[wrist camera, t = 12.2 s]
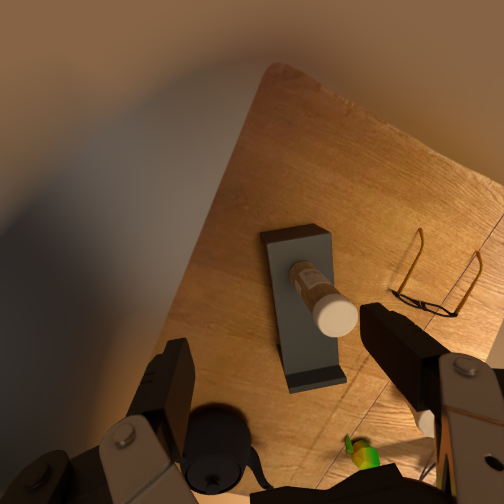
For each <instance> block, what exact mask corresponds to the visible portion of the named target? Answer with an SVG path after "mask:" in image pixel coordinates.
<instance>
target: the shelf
mask: <svg viewBox="0 0 504 504" xmlns="http://www.w3.org/2000/svg"><path fill="white" fill-rule="evenodd" d="M260 234H261V241H262V243H263V245H264V247H265V248H266V250H267V255H268V262H269V269H270V276H271V283H272V290H273V297H274V304H275V311H276V318H277V325H278V332H279V339H280V344H279V345H277V349H278V354H279V357H280V361H281V364H282V368H283V371H284V375H285V378H286V382H287V386H288V389H289V393H290V394H292V393H297V392H302V391H307V390H312V389H317V388H322V387H327V386H332V385H338V384H343V383H347V378H346V376H345V374H344V372H343V371H342V369H341V367H340V366H339V357H338V340H337V337H329V336H327V335H325V334H323V333H322V332H321V331H320V329H319V328H318V326H317V325H316V323H315V322H314V319H313V315H312V313H311V312H310V310H309V309H308V307H307V306H306V304H305V303H304V301H303V300H302V298H301V297H300V295H299V294H298V292H297V290H296V288H295V287H294V285H293V284H292V283H291V281H290V279H289V273H290V270H291V268H292V267H293V266H294V265H295V264H297V263H299V262H303V261H305V262H310V263H312V264H313V265H314V266H315V267H316V269H317V270H318V271H319V272H320V273H322V274H323V275H324V276H325V277H326V278H327V279H328V280H329V281H330V282H331V284H332V285H333V286H334V274H333V257H332V240H331V233H330V232H329V231H327V230H325V229H323V228H321V227H319V226H317V225H315V224H309V225H303V226H297V227H291V228H285V229H280V230H274V231H268V232H262V233H260Z"/></svg>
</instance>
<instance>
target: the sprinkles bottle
mask: <svg viewBox="0 0 504 504" xmlns="http://www.w3.org/2000/svg"><path fill="white" fill-rule="evenodd" d="M289 279H290V281H291V283H292V284H293V285H294V287H295V288H296V290H297V292H298V294H299V295H300V297H301V298H302V300H303V301H304V303H305V304H306V306H307V307H308V309H309V310H310V312H311V313H312V315H313V319H314V322H315V323H316V325H317V326H318V328H319V329H320V331H321V332H322V333H323V334H325V335H327V336H329V337H341V336H344V335H346V334H348V333H349V332H350V331H351V330H352V329H353V328H354V327H355V325H356V323H357V320H358V312H357V309H356V307H355V306H354V305H353V304H352V303H351V302H350V300H349V299H347V298H346V297H345V296H343V295H342V294H340V293H339V291H338V290H337V289H336V288H335V287H334V286H333V285H332V284H331V282H330V281H329V280H328V279H327V278H326V277H325V276H324V275H323V274H322V273H320V272H319V271H318V270H317V269H316V267H315V266H314V265H313V264H312V263H310V262H305V261H303V262H299V263H297V264H295V265H294V266H293V267H292V268H291V270H290V273H289Z"/></svg>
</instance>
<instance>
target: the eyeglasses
mask: <svg viewBox="0 0 504 504" xmlns="http://www.w3.org/2000/svg"><path fill="white" fill-rule="evenodd" d="M419 233H420V237H421V241H422V243H421V248H420V251H419V253H418V255H417V257H416V259H415V261H414V263H413V264H412V266H411V268H410V270H409V272H408V274H407V275H406V277H405V279H404V281H403V283H402V284H401V286H400V288H399V290H398V291H397V292H396V291H394V290H393V291H392V293H393V294H394V295H395V296H396V297H397V298H398V299H400V300H401V301H402V302H404V303H405V304H407V305H409V306H412V307H414V308H418V309H422V310H424V311H428V312H431V313H433V314H436V315H439V316H443V317H457V315H458V314H459V312H460V310H461V309H462V307H463V305H464V303H465V302H466V300H467V298H468V296H469V294H470V293H471V291H472V289H473V287H474V285H475V284H476V282H477V280H478V278H479V276H480V275H481V272H482V268H483V264H482V259H481V255H480V252H479V251H476V256H477V258H478V260H479V263H480V270H479V273H478V275H477V276H476V278H475V280H474V281H473V283H472V284H471V286H470V288H469V289H468V291H467V293H466V294H465V296H464V298H463V299H462V301H461V302H460V303H459V305H458V307H457V308H456V310H455V311H454V313H450V312H449V311H447V310H446V309H444V308H443V307H441V306H438V305H434V304H430V303H426V302H421V303H419V302H418V301H417V300H414V299H411V298H409V297H407V296H405V295H402V294H401V292H402V290H403V288H404V287H405V285H406V283H407V281H408V279H409V277H410V275H411V273H412V271H413V269H414V267H415V264H416V262H417V260H418V258H419V256H420V254H421V252H422V250H423V246H424V237H423V230H422V228H420V229H419ZM400 296H402V297H405V298H407V299H409V300H410V301H412V302H413V303H414V304H416V305H417V306H415V305H412V304H410V303H408V302H406V301H404V300H403V299H401V298H400ZM420 304H421V305H420ZM425 304H427V305H431V306H435V307H439V308H441V309H443V310H444V311H445V312H447V313H448V314H449V315H443V314H439V313H436V312H434V311H431V310H429V309H427V308H426V307H425Z"/></svg>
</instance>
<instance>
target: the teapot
mask: <svg viewBox="0 0 504 504" xmlns="http://www.w3.org/2000/svg"><path fill="white" fill-rule="evenodd" d="M174 462H176V463H180V468H181V472H182V475H183V477H184V479H185V481H186V482H187V484H188V486H189V488H190V489H191V490H193V491H194V492H197V493H199V494H204V495H217V494H222V493H225V492H227V491H229V490H231V489H233V488H234V487H235V486H236V485H237V484H238V483H239V482H240V480H241V478H242V476H243V473H244V471H245V468H246V465H247V466H249V467H250V468H251V470H252V471H253V473H254V475H255V477H256V479H257V481H258V483H259V485H260V486H261V487H262V488H263V489H266V490H270V489H274V488H273V486H271V485H270V484H269V483H268V482H267V480H266V479H265V477H264V474H263V471H262V467H261V463H260V459H259V456H258V454H257V452H256V450H255V449H254V448H253V447H252V446H251V435H250V431H249V428H248V426H247V425H246V423H245V422H244V421H243V420H242V419H241V418H240V417H239V416H237V415H235V414H234V413H231V412H229V411H226V410H221V409H214V410H208V411H205V412H203V413H201V414H199V415H197V416H195V417H194V418H192V419H191V420H190V421H189V422H188V425H187V431H186V437H185V443H184V448H183V454H182V460H178V461H174Z"/></svg>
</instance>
